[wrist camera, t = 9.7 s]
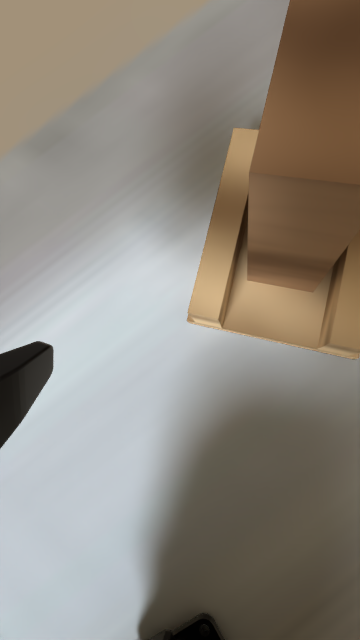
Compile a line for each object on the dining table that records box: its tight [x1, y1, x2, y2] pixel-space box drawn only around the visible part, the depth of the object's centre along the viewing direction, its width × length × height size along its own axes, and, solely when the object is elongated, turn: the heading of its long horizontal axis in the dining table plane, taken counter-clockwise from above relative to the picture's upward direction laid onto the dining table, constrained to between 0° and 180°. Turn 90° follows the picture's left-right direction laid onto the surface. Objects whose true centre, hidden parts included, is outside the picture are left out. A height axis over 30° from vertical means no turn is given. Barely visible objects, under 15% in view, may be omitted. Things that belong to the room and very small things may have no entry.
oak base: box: [187, 128, 360, 359], centre depth 18 cm, size 10×9×4 cm
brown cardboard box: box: [247, 0, 360, 293], centre depth 14 cm, size 6×4×10 cm, turn 166°
